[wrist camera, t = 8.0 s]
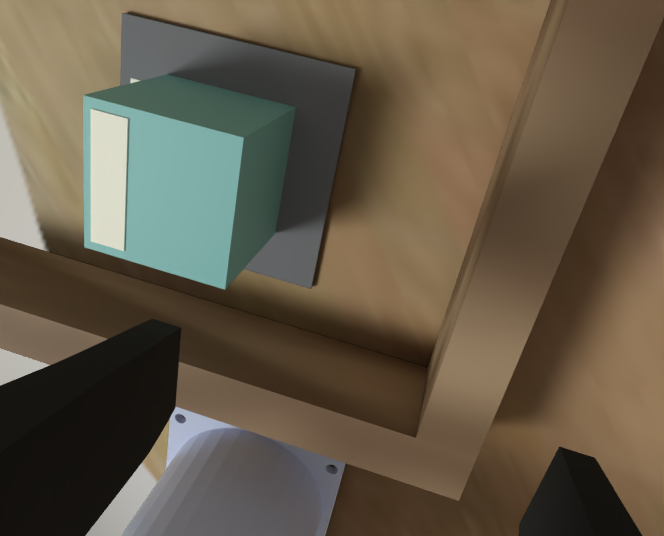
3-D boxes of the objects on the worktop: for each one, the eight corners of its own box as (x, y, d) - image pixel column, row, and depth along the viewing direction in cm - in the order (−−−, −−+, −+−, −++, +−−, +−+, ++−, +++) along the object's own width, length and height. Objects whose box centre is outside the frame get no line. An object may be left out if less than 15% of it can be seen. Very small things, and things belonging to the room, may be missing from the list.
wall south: (463, 423, 23) (459, 500, 19) (414, 407, 23) (400, 481, 20) (674, -112, 15) (733, -145, 11) (593, -127, 15) (626, -164, 11)
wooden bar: (463, 423, 23) (459, 500, 19) (-26, 268, 26) (-108, 312, 22) (479, 383, 22) (477, 457, 18) (-31, 228, 25) (-116, 266, 21)
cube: (295, 106, 19) (242, 138, 15) (275, 233, 21) (224, 290, 17) (167, 74, 20) (81, 95, 16) (159, 200, 22) (83, 248, 18)
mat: (312, 286, 22) (310, 289, 22) (120, 229, 23) (116, 231, 23) (356, 69, 18) (355, 70, 18) (125, 12, 19) (121, 13, 19)
